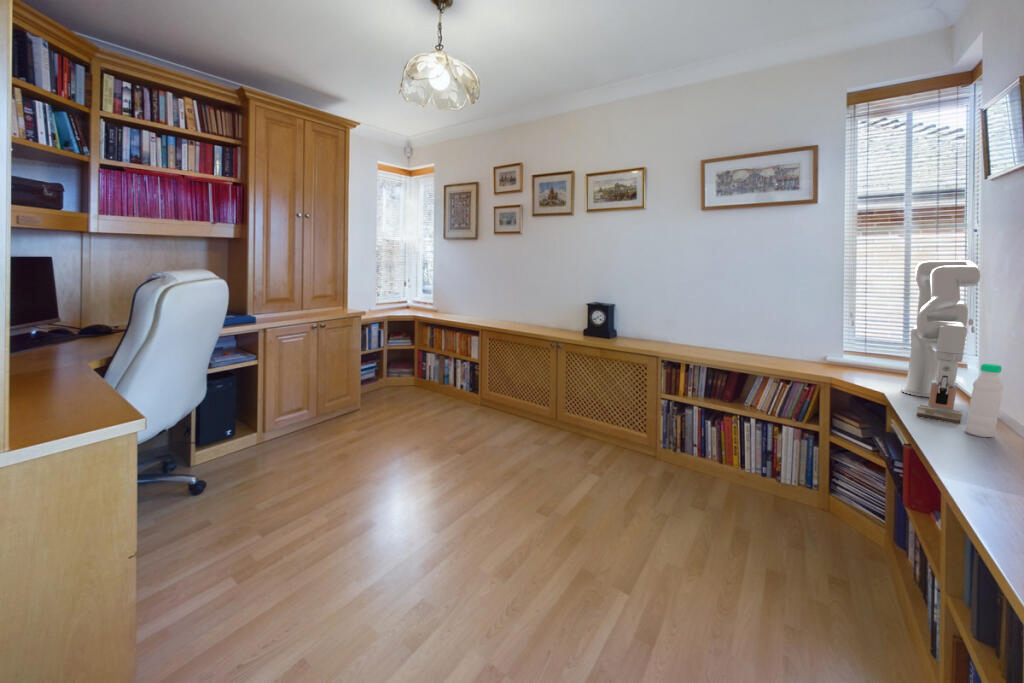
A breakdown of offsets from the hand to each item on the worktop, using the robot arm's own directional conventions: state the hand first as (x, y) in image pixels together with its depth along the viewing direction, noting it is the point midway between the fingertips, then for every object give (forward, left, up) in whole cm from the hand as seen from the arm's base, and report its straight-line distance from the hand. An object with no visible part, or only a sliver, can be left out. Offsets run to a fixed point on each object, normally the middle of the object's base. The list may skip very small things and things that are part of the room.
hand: (941, 401), depth 170 cm
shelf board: (0, 0, -6) cm, 6 cm away
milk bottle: (+16, +11, -6) cm, 20 cm away
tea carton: (0, 0, -2) cm, 2 cm away
